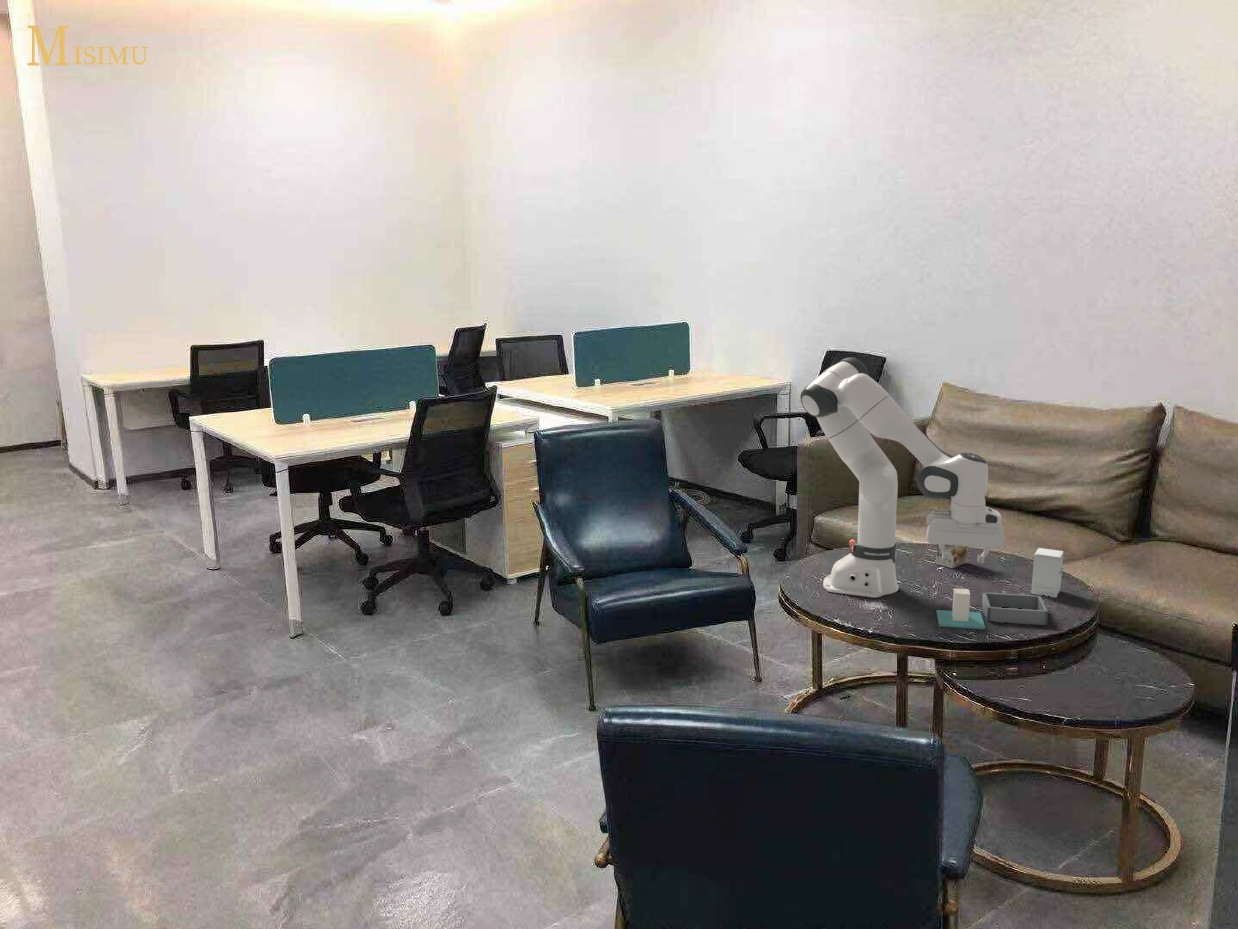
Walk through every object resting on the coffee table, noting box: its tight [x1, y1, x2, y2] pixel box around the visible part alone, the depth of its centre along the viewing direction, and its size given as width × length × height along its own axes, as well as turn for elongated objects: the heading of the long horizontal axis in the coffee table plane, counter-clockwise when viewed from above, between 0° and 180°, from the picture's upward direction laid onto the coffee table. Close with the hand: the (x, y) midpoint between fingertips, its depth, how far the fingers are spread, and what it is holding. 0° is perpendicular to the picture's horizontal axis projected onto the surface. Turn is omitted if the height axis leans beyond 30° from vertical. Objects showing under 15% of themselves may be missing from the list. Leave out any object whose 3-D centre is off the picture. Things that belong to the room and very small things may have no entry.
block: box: [951, 587, 971, 621], centre depth 276 cm, size 4×4×8 cm
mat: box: [935, 609, 986, 630], centre depth 277 cm, size 12×11×1 cm
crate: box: [981, 592, 1049, 626], centre depth 280 cm, size 16×13×4 cm
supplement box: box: [1030, 547, 1065, 599], centre depth 296 cm, size 7×7×13 cm
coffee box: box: [935, 544, 969, 569], centre depth 323 cm, size 9×6×16 cm
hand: (962, 560), depth 273 cm, fingers open, 8 cm apart
